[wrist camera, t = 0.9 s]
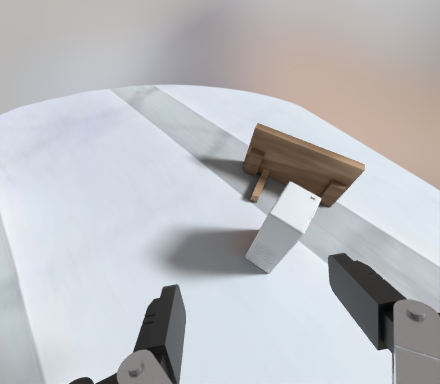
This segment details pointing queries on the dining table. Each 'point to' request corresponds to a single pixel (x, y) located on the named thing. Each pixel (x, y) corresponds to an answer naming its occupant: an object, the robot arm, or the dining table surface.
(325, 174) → the wooden stand
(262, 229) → the skincare box
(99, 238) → the dining table surface
